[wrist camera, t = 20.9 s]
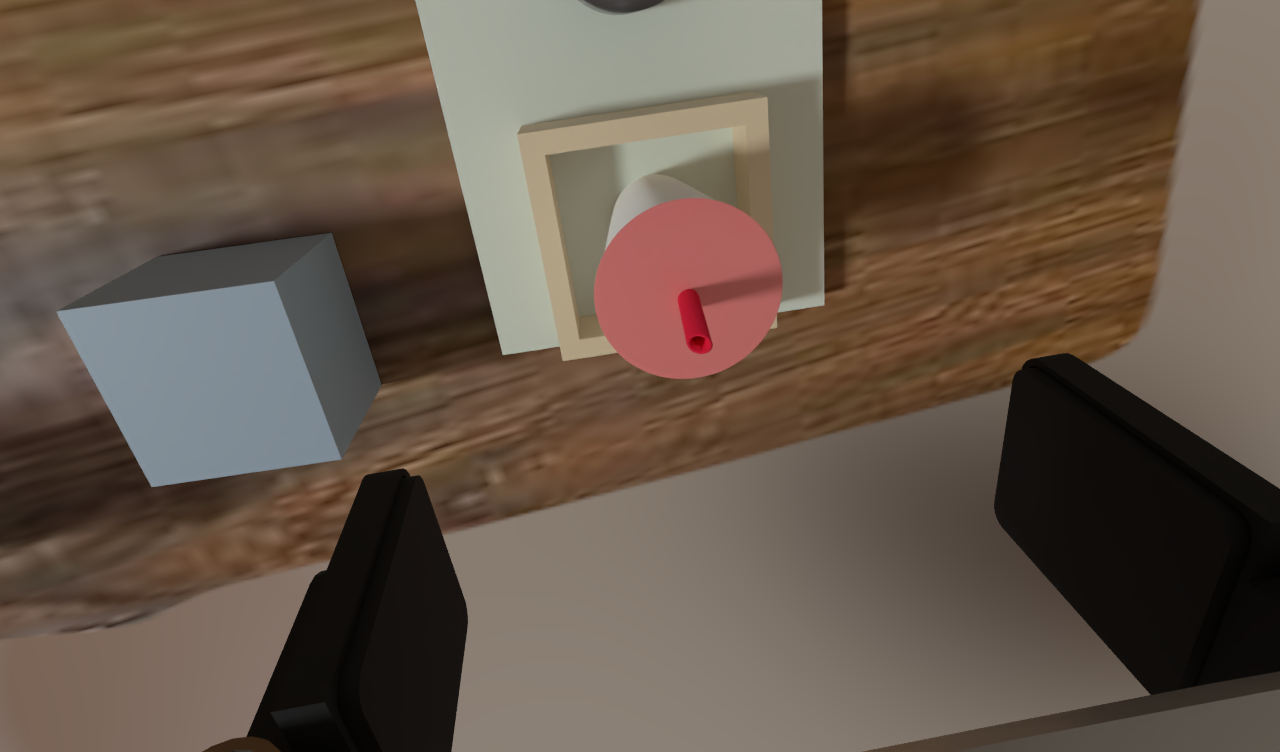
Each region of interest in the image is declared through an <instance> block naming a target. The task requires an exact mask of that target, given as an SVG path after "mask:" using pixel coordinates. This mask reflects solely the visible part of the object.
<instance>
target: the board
mask: <svg viewBox="0 0 1280 752" xmlns="http://www.w3.org/2000/svg"><path fill="white" fill-rule="evenodd" d="M415 1H416V5H417V9H418V13H419V17H420V21H421V25H422V29H423V33H424V37H425V41H426V45H427V49H428V54H429V58H430V62H431V66H432V70H433V74H434V78H435V82H436V86H437V90H438V94H439V98H440V102H441V106H442V110H443V114H444V118H445V123H446V127H447V131H448V135H449V139H450V143H451V147H452V151H453V155H454V159H455V163H456V167H457V171H458V175H459V179H460V183H461V187H462V192H463V196H464V200H465V204H466V208H467V212H468V216H469V220H470V224H471V228H472V232H473V236H474V240H475V244H476V248H477V252H478V257H479V261H480V265H481V269H482V273H483V277H484V281H485V285H486V289H487V293H488V297H489V301H490V305H491V309H492V313H493V317H494V321H495V326H496V330H497V334H498V338H499V342H500V346H501V350H502V354H503V355H507V354H514V353H520V352H527V351H533V350H539V349H546V348H552V347H559V346H560V349H561V354H562V359H563V361H567V360H573V359H580V358H586V357H593V356H599V355H605V354H612V353H618V352H617V351H616V350H615V349H614V348H613V347H612V345H611V344H610V343H609V341H608V340H607V338H606V337H605V335H604V333H603V331H602V329H601V327H600V324H599V321H598V318H597V315H596V310H595V303H594V285H595V278H596V274H597V270H598V266H599V264H600V261H601V259H602V256H603V254H604V252H605V248H606V242H607V237H608V232H609V227H610V222H611V217H612V214H613V209H614V205H615V203H616V200H617V198H618V196H619V195H620V193H621V192H622V191H623V189H624V188H625V187H626V186H627V185H628V184H630V183H631V182H633V181H634V180H636V179H638V178H640V177H643V176H646V175H652V174H661V175H667V176H670V177H673V178H675V179H677V180H679V181H681V182H683V183H685V184H687V185H689V186H690V187H692V188H694V189H696V190H698V191H699V192H701V193H703V194H705V195H706V196H708V197H710V198H712V199H713V200H716V201H720V202H723V203H726V204H729V205H731V206H734V207H736V208H738V209H740V210H741V211H743V212H745V213H746V214H747V215H749V216H750V217H751V218H753V219H754V220H755V221H756V222H757V223H758V224H759V225H760V226H761V227H762V228H763V229H764V230H765V232H766V233H767V234H768V236H769V237H770V239H771V241H772V242H773V244H774V246H775V249H776V251H777V253H778V256H779V259H780V263H781V268H782V276H783V289H782V297H781V302H780V306H779V310H778V312H784V311H790V310H796V309H803V308H809V307H816V306H822V305H824V192H823V66H822V0H664V1H663V2H661V3H659V4H657V5H655V6H653V7H650V8H647V9H644V10H641V11H638V12H634V13H630V14H626V15H608V14H604V13H600V12H597V11H595V10H592V9H590V8H589V7H587V6H585V5H584V4H582V3H581V2H580V1H578V0H415ZM772 328H777V315H776V318H775V320H774V322H773V324H772V326H771V328H770V329H772Z"/></svg>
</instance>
